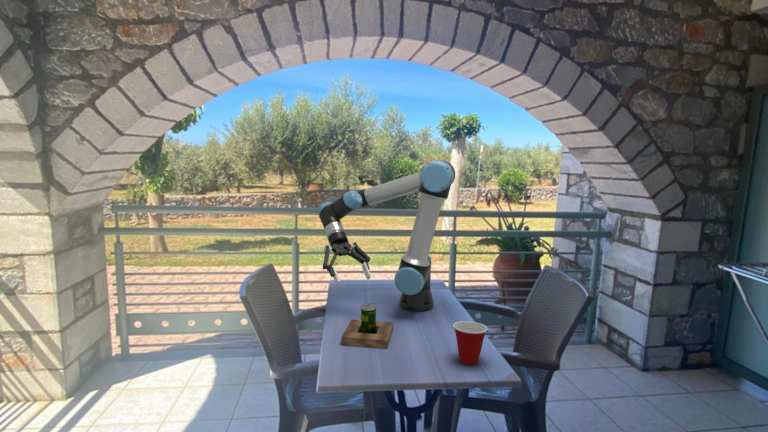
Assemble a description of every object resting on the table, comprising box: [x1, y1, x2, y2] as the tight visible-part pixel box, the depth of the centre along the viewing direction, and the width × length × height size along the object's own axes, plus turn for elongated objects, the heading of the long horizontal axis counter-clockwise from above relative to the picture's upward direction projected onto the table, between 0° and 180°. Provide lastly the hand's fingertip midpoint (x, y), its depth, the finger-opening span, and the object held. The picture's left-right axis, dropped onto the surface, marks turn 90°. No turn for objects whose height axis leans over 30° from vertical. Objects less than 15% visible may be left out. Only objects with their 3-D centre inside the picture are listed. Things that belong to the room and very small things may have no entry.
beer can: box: [360, 302, 377, 334], centre depth 150 cm, size 5×5×12 cm
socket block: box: [340, 319, 394, 350], centre depth 151 cm, size 16×16×3 cm
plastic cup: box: [453, 320, 488, 366], centre depth 133 cm, size 11×11×12 cm
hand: (354, 280), depth 160 cm, fingers open, 13 cm apart
